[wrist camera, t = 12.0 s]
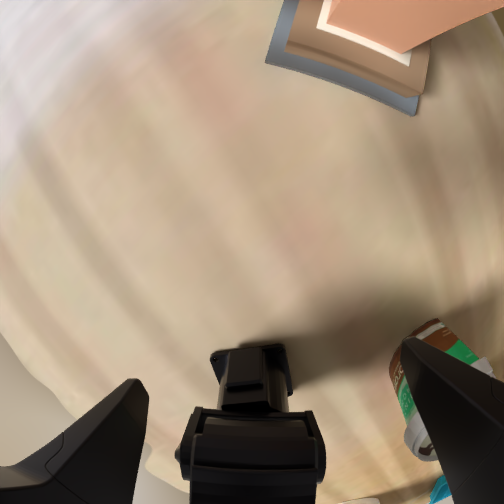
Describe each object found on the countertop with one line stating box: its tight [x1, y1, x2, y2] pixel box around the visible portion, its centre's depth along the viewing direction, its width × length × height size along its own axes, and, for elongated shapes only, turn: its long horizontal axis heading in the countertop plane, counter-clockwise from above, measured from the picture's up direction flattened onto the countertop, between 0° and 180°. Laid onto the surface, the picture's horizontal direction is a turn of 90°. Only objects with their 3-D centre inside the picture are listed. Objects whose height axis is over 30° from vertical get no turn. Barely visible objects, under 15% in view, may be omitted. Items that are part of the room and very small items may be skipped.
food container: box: [389, 318, 496, 461], centre depth 20 cm, size 12×6×10 cm, turn 11°
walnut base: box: [265, 0, 432, 116], centre depth 14 cm, size 11×11×3 cm
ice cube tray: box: [429, 475, 451, 504], centre depth 40 cm, size 12×20×3 cm, turn 20°
